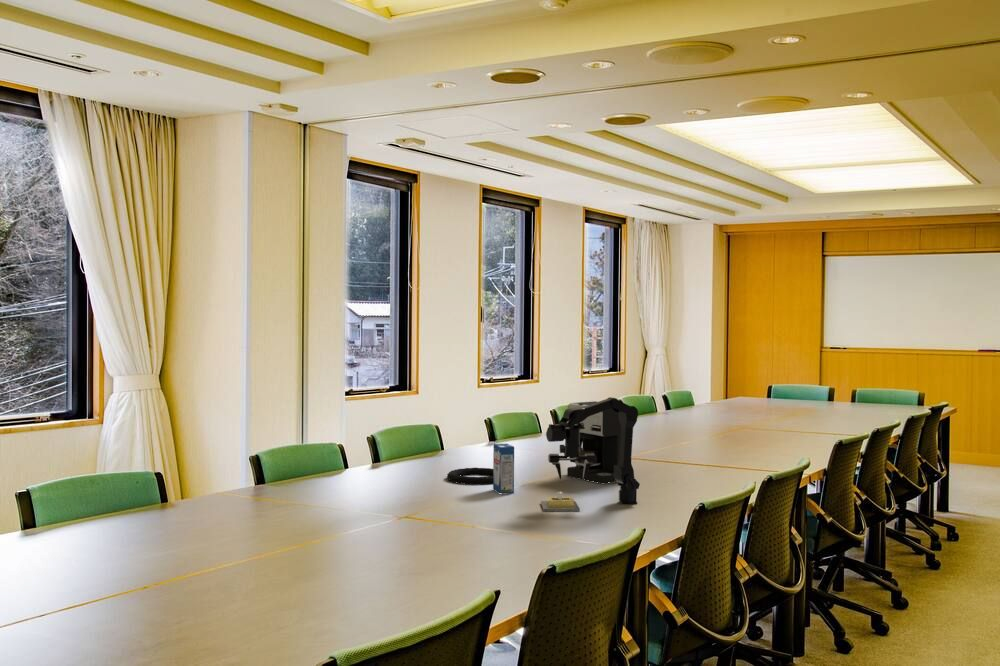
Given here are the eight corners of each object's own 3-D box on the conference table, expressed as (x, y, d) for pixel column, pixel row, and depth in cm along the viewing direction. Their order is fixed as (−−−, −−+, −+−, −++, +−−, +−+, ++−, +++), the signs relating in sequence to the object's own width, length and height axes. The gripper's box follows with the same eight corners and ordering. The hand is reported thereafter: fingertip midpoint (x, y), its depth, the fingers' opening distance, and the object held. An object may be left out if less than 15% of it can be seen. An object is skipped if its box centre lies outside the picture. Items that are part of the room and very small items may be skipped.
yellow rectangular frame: (572, 503, 345) (572, 497, 345) (574, 506, 338) (574, 500, 338) (547, 503, 344) (547, 497, 344) (548, 506, 338) (548, 500, 338)
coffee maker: (560, 475, 412) (561, 401, 411) (590, 470, 423) (591, 399, 423) (601, 484, 389) (601, 407, 388) (631, 479, 401) (632, 404, 400)
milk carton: (513, 493, 368) (514, 446, 367) (500, 494, 366) (500, 447, 365) (506, 488, 377) (507, 443, 377) (493, 489, 375) (493, 443, 375)
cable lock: (455, 465, 415) (516, 468, 409) (455, 473, 415) (516, 476, 410) (439, 475, 388) (505, 478, 382) (439, 484, 388) (505, 487, 382)
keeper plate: (575, 503, 349) (575, 488, 348) (579, 511, 335) (579, 496, 334) (540, 503, 348) (540, 488, 348) (543, 511, 334) (543, 496, 334)
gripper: (592, 437, 350) (592, 476, 350) (546, 437, 349) (546, 476, 349) (596, 441, 339) (596, 481, 339) (549, 441, 338) (549, 481, 338)
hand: (572, 479), depth 342 cm, fingers open, 9 cm apart
